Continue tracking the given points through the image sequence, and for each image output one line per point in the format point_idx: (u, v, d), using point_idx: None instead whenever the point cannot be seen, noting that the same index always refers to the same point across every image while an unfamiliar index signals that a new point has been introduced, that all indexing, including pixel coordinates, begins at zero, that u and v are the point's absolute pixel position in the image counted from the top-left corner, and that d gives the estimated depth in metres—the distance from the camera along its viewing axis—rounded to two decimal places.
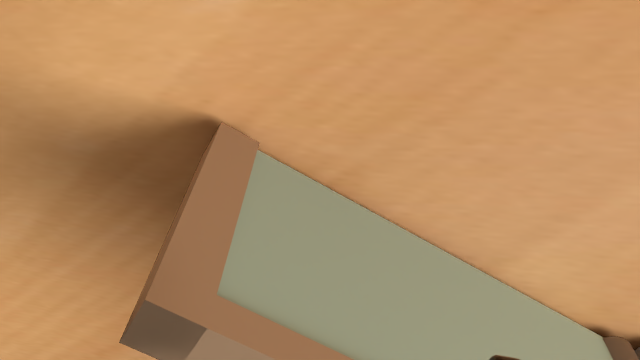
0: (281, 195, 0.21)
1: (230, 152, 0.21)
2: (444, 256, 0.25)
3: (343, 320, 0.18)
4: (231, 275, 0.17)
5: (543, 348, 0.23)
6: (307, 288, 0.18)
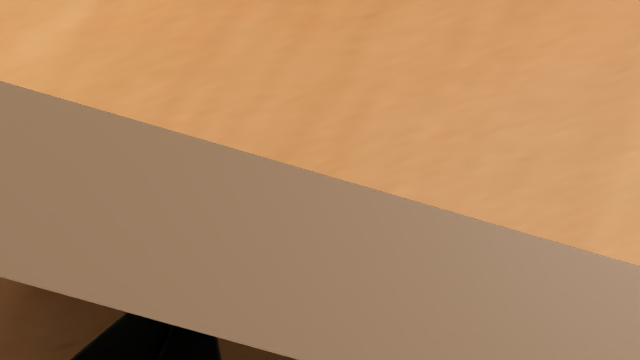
0: None
1: None
2: None
3: None
4: None
5: None
6: None
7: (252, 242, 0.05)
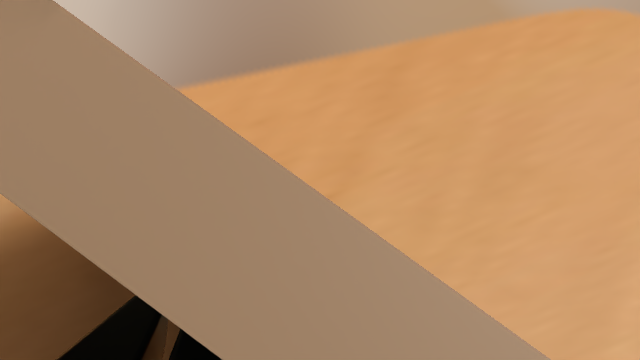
0: None
1: None
2: None
3: None
4: None
5: None
6: None
7: (378, 344, 0.05)
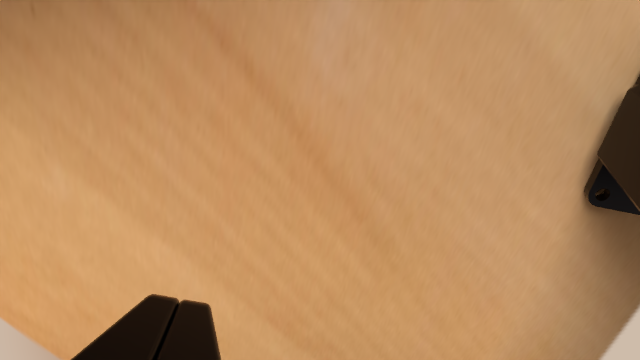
0: None
1: None
2: None
3: None
4: None
5: None
6: None
7: None
